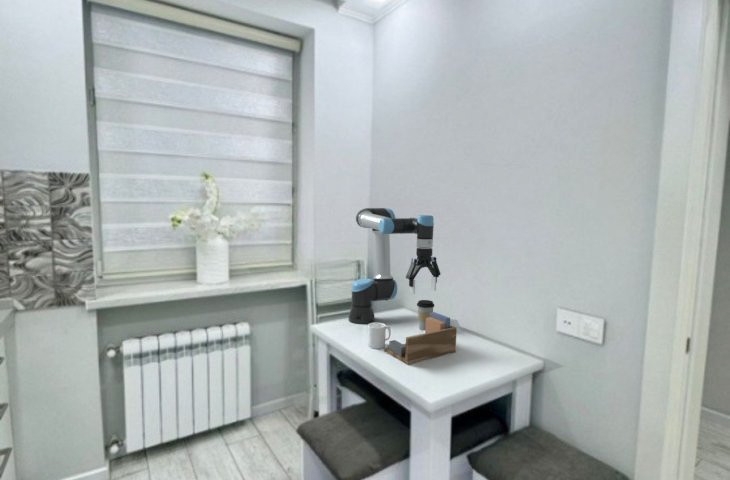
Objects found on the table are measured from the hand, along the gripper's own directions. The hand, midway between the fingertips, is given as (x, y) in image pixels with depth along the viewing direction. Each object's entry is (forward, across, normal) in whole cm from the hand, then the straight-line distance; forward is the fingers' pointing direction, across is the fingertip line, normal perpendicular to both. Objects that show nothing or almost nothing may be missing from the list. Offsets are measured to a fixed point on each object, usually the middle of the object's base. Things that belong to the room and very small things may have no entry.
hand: (422, 291), depth 187 cm
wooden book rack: (+25, -8, -8) cm, 28 cm away
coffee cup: (+26, +16, +15) cm, 34 cm away
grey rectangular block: (+24, -20, -7) cm, 32 cm away
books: (+24, +2, -8) cm, 26 cm away
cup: (+26, -19, +8) cm, 33 cm away
